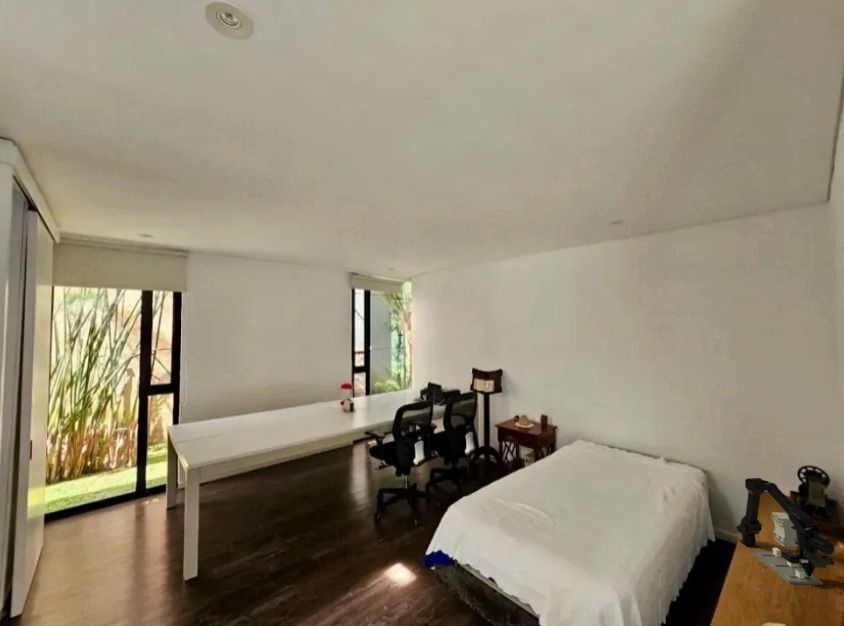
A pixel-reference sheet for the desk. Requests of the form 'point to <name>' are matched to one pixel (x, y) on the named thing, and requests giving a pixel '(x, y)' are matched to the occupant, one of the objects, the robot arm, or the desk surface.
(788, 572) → the plate
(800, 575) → the handle
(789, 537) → the circuit breaker
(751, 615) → the desk surface
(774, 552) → the handle left
